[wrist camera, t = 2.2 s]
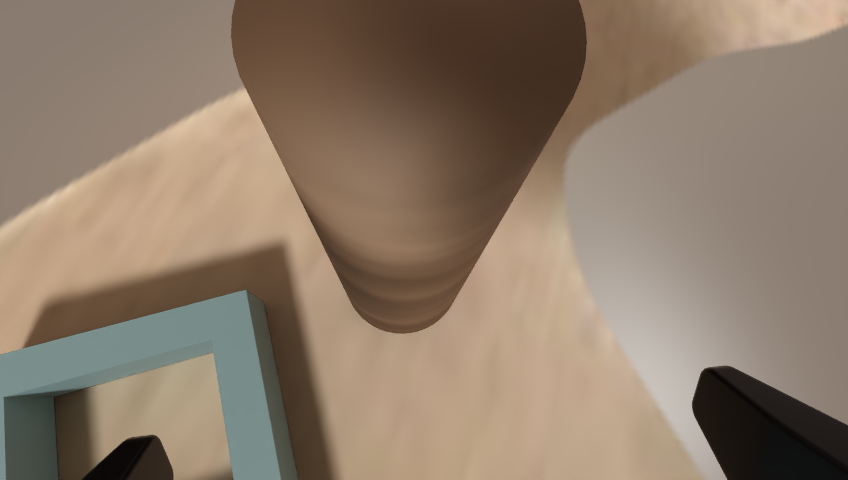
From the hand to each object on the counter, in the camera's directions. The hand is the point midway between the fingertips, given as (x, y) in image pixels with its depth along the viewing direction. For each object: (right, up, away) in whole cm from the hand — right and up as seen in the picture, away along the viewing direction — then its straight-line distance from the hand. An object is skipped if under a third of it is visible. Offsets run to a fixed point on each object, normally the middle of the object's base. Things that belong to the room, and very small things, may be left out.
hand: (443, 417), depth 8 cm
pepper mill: (-1, +1, +13) cm, 13 cm away
